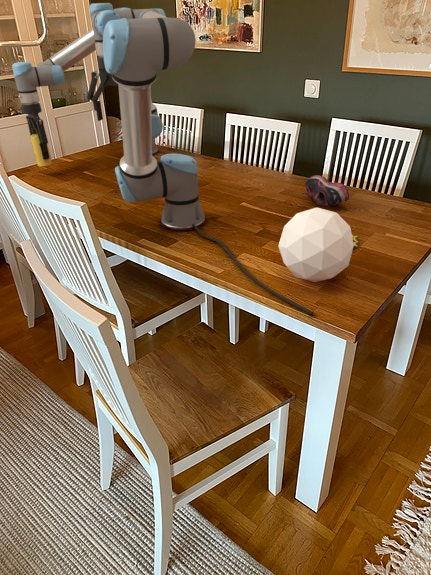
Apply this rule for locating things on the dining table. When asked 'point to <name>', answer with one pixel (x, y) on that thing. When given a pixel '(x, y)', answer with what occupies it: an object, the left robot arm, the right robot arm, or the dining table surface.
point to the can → (38, 152)
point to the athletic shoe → (326, 191)
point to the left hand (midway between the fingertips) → (43, 157)
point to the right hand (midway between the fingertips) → (117, 120)
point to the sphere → (316, 244)
